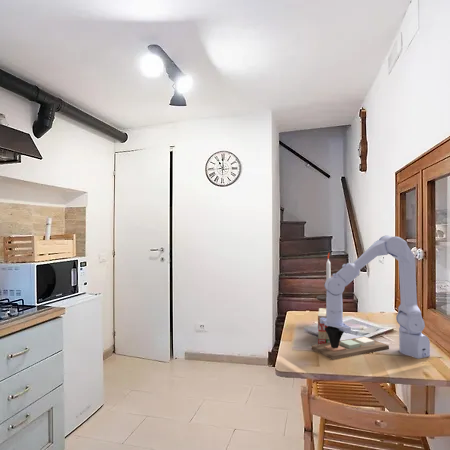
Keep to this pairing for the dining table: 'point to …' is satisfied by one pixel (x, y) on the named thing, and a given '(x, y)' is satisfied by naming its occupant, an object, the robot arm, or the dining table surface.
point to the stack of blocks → (322, 328)
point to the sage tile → (349, 344)
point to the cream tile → (364, 341)
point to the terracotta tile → (334, 348)
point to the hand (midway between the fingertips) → (334, 347)
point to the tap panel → (349, 352)
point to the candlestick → (328, 275)
